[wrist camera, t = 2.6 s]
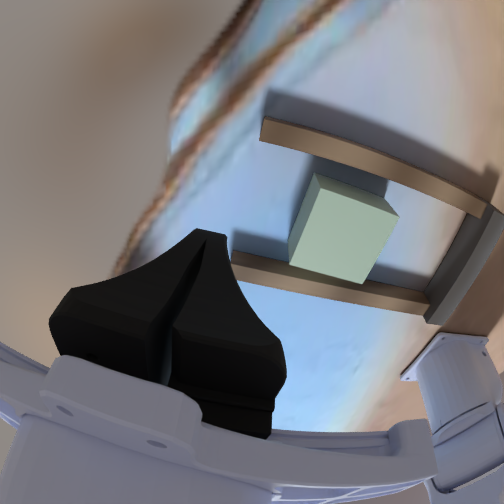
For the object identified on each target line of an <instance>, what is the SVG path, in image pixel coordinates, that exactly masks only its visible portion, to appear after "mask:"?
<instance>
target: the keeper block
mask: <svg viewBox="0 0 504 504" xmlns="http://www.w3.org/2000/svg"><path fill="white" fill-rule="evenodd" d="M398 219H399V216H398V215H397V213H396V212H395V211H394V210H393V208H392V207H391V206H390V205H389V203H388V202H387V201H386V200H385V199H384V198H382V197H380V196H377V195H375V194H372V193H370V192H367V191H365V190H362V189H359V188H357V187H354V186H351V185H349V184H346V183H343V182H340V181H338V180H335V179H332V178H329V177H326V176H323V175H320V174H318V173H315V172H314V174H313V176H312V179H311V182H310V184H309V187H308V190H307V192H306V195H305V197H304V200H303V203H302V205H301V208H300V210H299V213H298V216H297V218H296V221H295V223H294V226H293V228H292V231H291V233H290V236H289V238H288V254H289V265H292V266H296V267H300V268H303V269H307V270H311V271H315V272H318V273H322V274H326V275H330V276H333V277H337V278H341V279H344V280H348V281H352V282H356V283H359V284H363V282H364V281H365V279H366V277H367V275H368V274H369V272H370V270H371V269H372V267H373V265H374V263H375V262H376V260H377V258H378V256H379V255H380V253H381V251H382V249H383V247H384V246H385V244H386V242H387V240H388V238H389V236H390V235H391V233H392V231H393V229H394V227H395V225H396V223H397V221H398Z"/></svg>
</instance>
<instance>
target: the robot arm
mask: <svg viewBox="0 0 504 504" xmlns="http://www.w3.org/2000/svg"><path fill="white" fill-rule="evenodd" d="M49 328H50V331H51V335H52V337H53V339H54V342H55V344H56V346H57V349H58V351H59V353H60V355H61V356H60V357H58V358H56V359H55V360H54V362H53V364H52V366H51V368H49V367H46V366H44V365H42V364H40V363H38V362H36V361H34V360H32V359H30V358H28V357H27V356H24V355H23V354H21V353H19V352H17V351H15V350H14V349H12V348H10V347H8V346H6V345H5V344H3V343H1V342H0V418H2V419H3V420H4V421H5V422H7V423H8V424H10V425H11V426H13V427H14V428H15V429H17V432H16V435H15V437H14V440H13V442H12V445H11V447H10V450H9V452H8V455H7V458H6V460H5V464H4V466H3V469H2V472H1V475H0V504H334V503H342V502H350V501H356V500H362V499H368V498H374V497H379V496H384V495H389V494H394V493H397V492H400V491H402V490H405V489H408V488H410V487H412V486H415V485H417V484H419V483H421V482H424V484H425V486H426V488H427V490H428V494H429V498H430V503H431V504H504V465H503V466H502V467H501V468H500V469H498V470H497V471H496V472H494V473H492V474H490V475H488V476H486V477H485V478H483V479H481V480H479V481H477V482H475V483H473V484H471V485H468V486H466V487H464V488H462V489H460V490H458V491H456V490H453V488H456V487H458V486H460V485H463V484H465V483H467V482H469V481H471V480H473V479H475V478H477V477H479V476H481V475H483V474H485V473H486V472H488V471H490V470H492V469H494V468H495V467H497V466H499V465H501V464H502V463H504V403H503V402H501V399H502V392H503V386H502V381H501V379H500V376H499V374H498V372H497V370H496V368H495V366H494V363H493V361H492V359H491V357H490V355H489V353H488V351H487V349H486V347H485V345H486V344H487V342H488V341H489V339H488V337H482V336H471V335H461V334H452V333H443V332H440V333H438V334H437V335H436V336H435V337H434V339H433V340H432V341H431V342H430V344H429V345H428V346H427V347H426V348H425V350H424V351H423V352H422V353H421V354H420V355H419V356H418V358H417V359H416V360H415V361H414V362H413V363H412V364H411V365H410V366H409V368H408V369H407V370H406V371H405V372H404V373H403V374H402V375H401V376H400V380H401V381H418V384H419V388H420V391H421V394H422V398H423V401H424V405H425V408H426V412H427V416H428V420H429V423H430V427H431V431H432V436H431V435H430V431H429V427H428V423H427V419H416V420H406V421H402V422H399V423H397V424H395V425H394V426H392V427H391V428H390V429H389V430H388V431H376V432H306V431H291V430H279V429H272V412H273V411H274V408H275V398H276V396H277V395H278V393H279V391H280V390H281V388H282V387H283V385H284V383H285V380H286V378H287V370H286V362H285V356H284V352H283V348H282V344H281V341H280V339H279V338H278V337H277V336H275V335H274V334H273V333H272V332H271V331H270V330H269V329H268V328H267V327H266V326H265V325H264V324H263V322H262V321H261V320H260V319H259V318H258V316H257V315H256V313H255V312H254V310H253V309H252V308H251V306H250V305H249V303H248V302H247V300H246V298H245V297H244V295H243V293H242V291H241V289H240V287H239V285H238V283H237V280H236V278H235V275H234V272H233V270H232V267H231V263H230V259H229V255H228V250H227V236H226V235H225V234H220V233H216V232H211V231H207V230H202V229H198V228H196V229H195V230H193V231H192V232H191V233H190V234H188V235H187V236H186V237H185V238H184V239H182V240H181V241H180V242H179V243H177V244H176V245H175V246H173V247H172V248H171V249H169V250H168V251H166V252H165V253H163V254H162V255H160V256H159V257H157V258H156V259H154V260H152V261H151V262H149V263H147V264H145V265H143V266H141V267H139V268H137V269H135V270H132V271H130V272H128V273H125V274H123V275H120V276H118V277H115V278H112V279H109V280H105V281H102V282H98V283H94V284H90V285H85V286H80V287H75V288H71V289H70V290H69V292H68V293H67V294H66V295H65V296H64V298H63V299H62V300H61V302H60V304H59V305H58V306H57V308H56V309H55V311H54V312H53V314H52V315H51V317H50V318H49Z"/></svg>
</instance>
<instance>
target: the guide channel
mask: <svg viewBox="0 0 504 504" xmlns="http://www.w3.org/2000/svg"><path fill="white" fill-rule="evenodd" d="M259 141H262V142H267V143H271V144H275V145H279V146H283V147H287V148H291V149H294V150H298V151H302V152H306V153H309V154H313V155H316V156H320V157H323V158H326V159H330V160H333V161H336V162H339V163H343V164H346V165H349V166H352V167H355V168H358V169H361V170H364V171H367V172H370V173H373V174H375V175H378V176H381V177H384V178H386V179H389V180H392V181H394V182H397V183H400V184H402V185H405V186H407V187H410V188H412V189H415V190H417V191H420V192H422V193H425V194H427V195H429V196H432V197H434V198H436V199H439V200H441V201H443V202H446V203H448V204H450V205H452V206H454V207H457V208H459V209H461V210H463V211H465V212H467V213H468V214H467V216H466V218H465V220H464V222H463V224H462V226H461V228H460V230H459V232H458V234H457V236H456V238H455V240H454V242H453V243H452V245H451V247H450V249H449V251H448V253H447V254H446V256H445V258H444V260H443V261H442V263H441V265H440V267H439V268H438V270H437V272H436V273H435V275H434V277H433V278H432V280H431V281H430V283H429V285H428V286H427V288H426V289H425V291H424V292H420V291H416V290H411V289H407V288H402V287H397V286H393V285H388V284H384V283H379V282H375V281H370V280H366V279H365V281H364V282H363V284H359V283H356V282H352V281H348V280H344V279H341V278H337V277H333V276H330V275H326V274H322V273H318V272H315V271H311V270H307V269H303V268H300V267H296V266H292V265H289V262H284V261H279V260H275V259H270V258H266V257H261V256H257V255H252V254H248V253H244V252H239V251H235V250H233V254H232V258H231V267H232V270H233V272H234V275H235V278H236V280H239V281H243V282H248V283H253V284H257V285H262V286H267V287H272V288H276V289H281V290H286V291H291V292H296V293H301V294H306V295H311V296H316V297H321V298H326V299H332V300H337V301H342V302H347V303H353V304H358V305H364V306H369V307H375V308H381V309H386V310H392V311H398V312H404V313H410V314H416V315H422V316H423V317H424V319H425V321H426V323H427V324H434V325H442V326H443V325H444V323H445V322H446V321H447V319H448V318H449V317H450V315H451V314H452V313H453V311H454V310H455V308H456V307H457V306H458V304H459V303H460V301H461V300H462V299H463V297H464V296H465V294H466V293H467V291H468V290H469V288H470V287H471V285H472V284H473V282H474V280H475V279H476V277H477V276H478V274H479V272H480V271H481V269H482V267H483V266H484V264H485V262H486V261H487V259H488V257H489V256H490V254H491V252H492V250H493V248H494V247H495V245H496V243H497V241H498V239H499V237H500V235H501V233H502V231H503V229H504V214H503V213H501V212H500V211H499V210H498V209H497V208H495V207H494V206H493V205H492V204H490V203H489V202H487V201H485V200H483V199H482V198H480V197H478V196H476V195H474V194H473V193H471V192H469V191H467V190H465V189H463V188H461V187H459V186H457V185H455V184H453V183H451V182H449V181H447V180H445V179H443V178H441V177H439V176H437V175H435V174H433V173H431V172H428V171H426V170H424V169H422V168H420V167H417V166H415V165H413V164H410V163H408V162H406V161H403V160H401V159H399V158H396V157H394V156H391V155H389V154H386V153H384V152H381V151H378V150H376V149H373V148H370V147H368V146H365V145H362V144H359V143H356V142H353V141H351V140H348V139H345V138H342V137H339V136H335V135H332V134H329V133H326V132H323V131H319V130H316V129H313V128H309V127H306V126H302V125H298V124H295V123H291V122H287V121H283V120H279V119H275V118H271V117H267V116H265V118H264V122H263V126H262V130H261V134H260V138H259Z"/></svg>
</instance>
